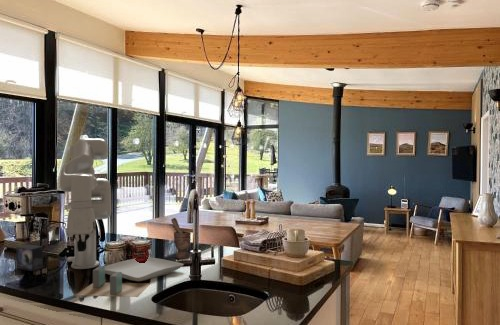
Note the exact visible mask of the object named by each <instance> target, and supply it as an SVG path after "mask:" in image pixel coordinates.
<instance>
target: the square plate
mask: <svg viewBox="0 0 500 325" xmlns="http://www.w3.org/2000/svg"><path fill="white" fill-rule="evenodd" d="M147 257H148V259H147V261H146V262H145V263H139V262H137V261H136V260H135V259H136V258H131V259H127V260H123V261H118V262H115V263H110V264H107V265H103V266H104V267H105V275H107V276H108V275H109V276H111V275H112V274H114V273H115V272H122V279H124V280H129V281H134V282H143V281H147V280H148V281H149V280H150V279H154V278H157V277H161V276H165V275H167V274H168V275H169V274H170V273H172V272H174V271H177V270H179V269H181V268H182V267H183V266H184V265H185V263H181V262H176V261H172V260H167V259H162V258H156V257H149V256H147Z"/></svg>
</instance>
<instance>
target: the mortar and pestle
mask: <svg viewBox="0 0 500 325" xmlns="http://www.w3.org/2000/svg"><path fill="white" fill-rule="evenodd" d="M170 221H171V223H172V226H173V227H174V229H175V231H174V232H173V237H174V238H173V240H174V241H173V242H174V247H175V248H176V249H177V253H176V254H175V258H176V259H181V260H182V259H183V260H186V259H188V258H190V254H189V252H188V249H189V248H190V246H191V241H192V240H191V234H192V233H191V231H188V230H181V227H180V225H179V222H178V220H177V218H176V217H173V218H171V220H170Z"/></svg>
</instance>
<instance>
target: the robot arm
mask: <svg viewBox="0 0 500 325" xmlns="http://www.w3.org/2000/svg"><path fill="white" fill-rule="evenodd" d="M108 145H109V144H108V142H107V141H106V140H105V139H103V138H80V139H78V140H76V141H75V143H73V144H71V145H70V148H69V152H70V159H71V160H69V161H68V162H66V163H65V164H64V165H63V167H62V168H61V171H60V174H59V175H60V176H59V188H60V190H61V191H63V192H65V193H71V194H70V196H71V199H70V202H68V204H67V205H68V207H70V208H69V210H68V213H67V221H66V232H67V236H68V237H71V238H73V239H74V256H68V257H67V258H66V262H68V263H71V262H72V263H71V265H70V267H71V268H72V269H74V270H85V269H93V268H94V269H95V268H97V267H99V266H100V261H99V260H97V229H96V220H106V219H109V218H110V217H111V216H112V215H111V214H112V189H111V188H112V187H111V183H110V180H109V179H107V178H97V177H96V176H95V174H96V173H95V172H96V171H95V168H94V167H93V166H94V162H95V161H97V160H98V161H99V160H100V161H103V160H106V159H107V158H108V155H109V146H108ZM98 198H99V199H98Z"/></svg>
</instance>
